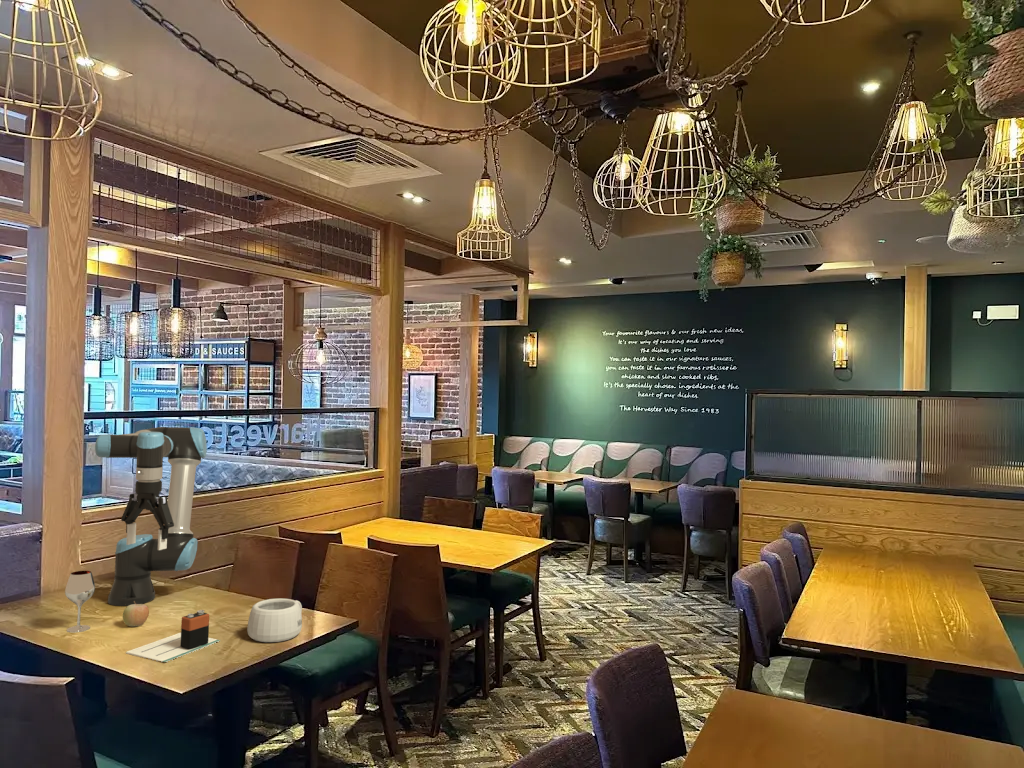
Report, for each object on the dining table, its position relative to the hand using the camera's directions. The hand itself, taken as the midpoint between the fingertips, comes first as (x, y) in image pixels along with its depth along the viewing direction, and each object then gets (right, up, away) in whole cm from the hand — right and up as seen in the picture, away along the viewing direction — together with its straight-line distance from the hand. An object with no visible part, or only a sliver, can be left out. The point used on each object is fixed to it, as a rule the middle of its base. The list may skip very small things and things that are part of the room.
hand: (146, 546), depth 220 cm
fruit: (-7, -27, +6) cm, 29 cm away
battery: (+21, -28, -12) cm, 36 cm away
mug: (+42, -29, +3) cm, 51 cm away
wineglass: (-22, -27, 0) cm, 35 cm away
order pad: (+15, -28, -12) cm, 34 cm away
